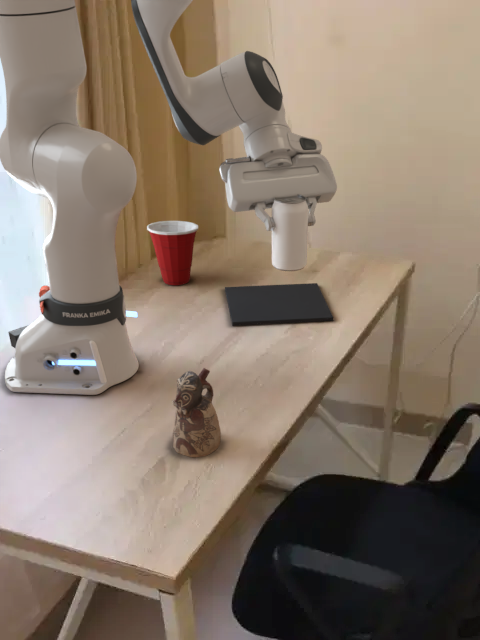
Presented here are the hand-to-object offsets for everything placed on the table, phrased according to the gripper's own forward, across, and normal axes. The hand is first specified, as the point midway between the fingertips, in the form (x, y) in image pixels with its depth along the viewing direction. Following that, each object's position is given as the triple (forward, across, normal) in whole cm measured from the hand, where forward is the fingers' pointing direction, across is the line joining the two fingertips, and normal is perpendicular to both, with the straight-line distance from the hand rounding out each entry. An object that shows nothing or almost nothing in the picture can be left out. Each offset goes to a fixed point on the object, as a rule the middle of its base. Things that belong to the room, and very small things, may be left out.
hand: (291, 226), depth 133 cm
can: (+5, 0, +6) cm, 7 cm away
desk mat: (+6, +2, +22) cm, 22 cm away
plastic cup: (-8, -14, +36) cm, 40 cm away
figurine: (+37, -29, -10) cm, 48 cm away
